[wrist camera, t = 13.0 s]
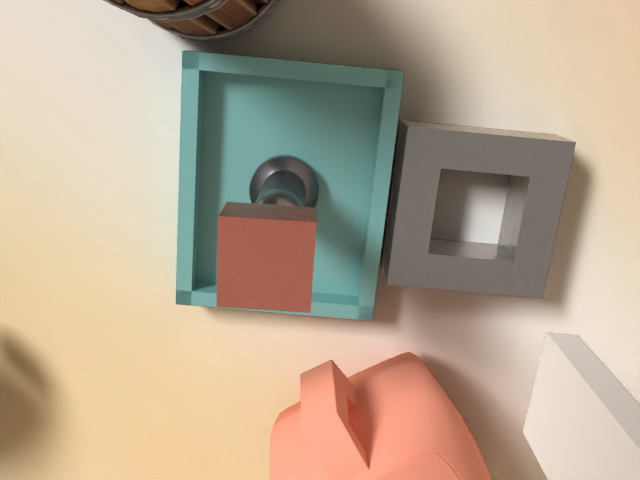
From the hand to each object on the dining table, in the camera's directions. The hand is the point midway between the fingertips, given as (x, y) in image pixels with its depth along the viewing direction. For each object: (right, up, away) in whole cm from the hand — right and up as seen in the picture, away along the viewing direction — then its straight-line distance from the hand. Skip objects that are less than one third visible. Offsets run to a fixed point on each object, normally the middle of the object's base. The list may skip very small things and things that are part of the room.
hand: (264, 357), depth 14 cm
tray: (-1, +6, +26) cm, 27 cm away
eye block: (+11, +5, +27) cm, 29 cm away
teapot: (+6, -12, +32) cm, 35 cm away
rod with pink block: (-1, +6, +25) cm, 26 cm away
